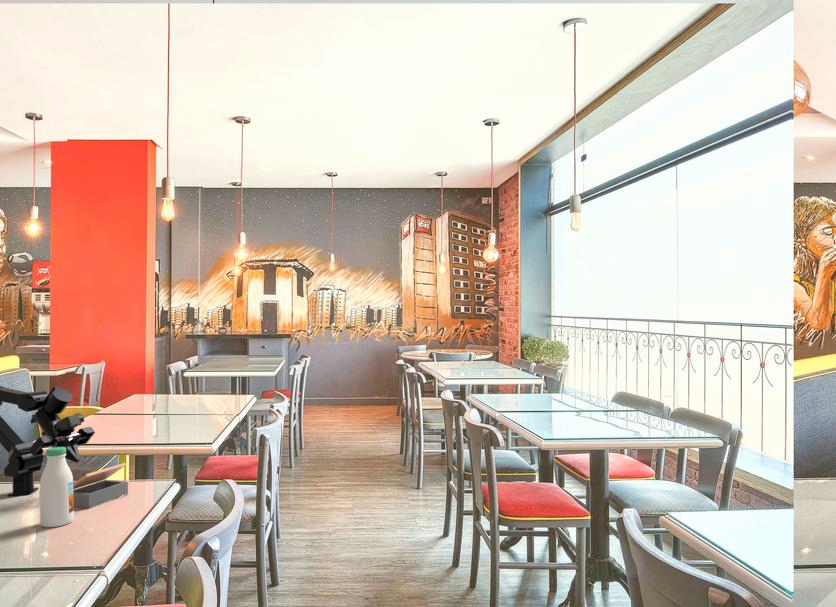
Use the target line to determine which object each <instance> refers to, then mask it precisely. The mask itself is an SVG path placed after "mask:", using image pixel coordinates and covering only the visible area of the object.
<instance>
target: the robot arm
mask: <svg viewBox="0 0 836 607" xmlns="http://www.w3.org/2000/svg"><path fill="white" fill-rule="evenodd" d="M72 400H73V394H72V392H70V391H69V390H67V389H64V388H61V387H60V385H59V386H52V388H51V390H50V392H49V393H48V392H47V391H45V390H41V391H40V390H39V391H22V390H19V389H13V388H8V387H5V386H2V385H0V407H1V406H2V405H3V403H7V404H12V405H15V406H17V408H18V409H19V410H22V411H24V412H25V413H26V412H27V413H28V412H34V411H36V412H35V413H34V414H33V413H32V415H31V419H30V424H36V423H37V424H38V425H39V428H41V430H42V432H41V435H42V436H41V437H37V438H36V440H34V441H32V440H31V441H27V442H25V441H23V439H21V437H20V436H19V435H18V434H17V432H15V431H14V430H13V428H12V427H11V426H10V425H9V424H8V423H7V422H6V420H4V418H3V416H1V415H0V445H1V446H2V447H3V448H4V450H6V451H7V453H8V456H7V457H8V458H7V461H8V463H7V465H6V466H5V467H4V468H3V473H4V476H5V477H10V478H12V480H11V481H12V491H11V492H9V493H8V494H7V496H8V497H11V496H12V497H13V496H22V495H23V496H25V495H31V494H33V493H34V492H36V491H38V490H39V487H38V486H37V487H35V484H34V483H35V482H34V481H35V478H34V475H35V473H34V472H39V471H41V469H42V465H43V461H44V449H49V448H54V447H65V448H66V456H65V459H67V460H69V461H72V462H74V463H79V462H80V460H81V458H80V454H79V448H78V447H79V446H85V445H86V444H88V443H89V441H90V440H91V438H92V437H93V436H95V435H94V434H95V433H96V432H95V429H93V427H91V426H87V427H82V428H79V429H78V431H76V433H75V434H72V433H74V432H75V430H76V429H75V428H77V427H78V426H81V425H82V423H84V422H85V417H84V415H83V414H82V413H81V412H76V413H74V414H73V415H68V416H64V417H63V418H61V416H60V415H59V414H61V413H63V412H64V411H65V409H66V408H67V407H68V405H69V404H70V403H71V401H72Z"/></svg>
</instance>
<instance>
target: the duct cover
mask: <svg viewBox="0 0 836 607" xmlns="http://www.w3.org/2000/svg"><path fill="white" fill-rule="evenodd" d="M125 466H127V464H126V462H124V463H123V462H122V463H120V464H116V465H112V466H110V467H106V468H103V469H102V468H101V469H99V470H96V471H93V472H89V473H85V474H84V475H83V476H82V477H81V478H78V479H77V480H76V481H75V482H73V490H75V489H78V488H81V487H85V486H88V485H91V484H94V483H97V482H100V481H104V480H108V478H110V477H111V476H113V475H114V474H116V473H117V472H118V471H119V470H122V469H123V468H124V467H125Z"/></svg>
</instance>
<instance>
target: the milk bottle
mask: <svg viewBox="0 0 836 607" xmlns="http://www.w3.org/2000/svg"><path fill="white" fill-rule="evenodd" d="M45 450H46V451H45V455H46V457H45V458H46V459H47V460H46V464H45V467H44V470H43V471H42V474H41V476H40V482H39V509H40V510H39V512H40V513H39V516H40V517H39V518H40V521H39V522H40V526H41V527H42V528H55V527H61V526H64V525H68V524H70V523H72V522H73V521H74V519H75V507H74V493H73V490H74V489H73V483H74V476H73V472H72V471H71V468H70V467H69V465H68V463H67V460H66V458H65V456H66V448H65V447H54V448H52V447H48V448H46V449H45Z"/></svg>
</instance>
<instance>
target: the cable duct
mask: <svg viewBox="0 0 836 607" xmlns="http://www.w3.org/2000/svg"><path fill="white" fill-rule="evenodd" d="M73 493H74V508H83V509H92V508H95V507H97V506H96V505H98V506H100V505H102V504H101V503H103V504H105V503H104V502H106V503H108V502H107V501H109V500H112V499H114V498H117V497H120V496H122V495H125V494H128V495H129V481H125V480H115V479H113V480H111V479H104V480H101V481H98V482H95V483H92V484H88V485H85V486H82V487H79V488H76V489H73ZM120 498H121V497H120ZM117 499H118V498H117ZM114 500H115V499H114ZM112 501H113V500H112ZM109 502H110V501H109ZM99 504H100V505H99ZM94 506H95V507H94Z"/></svg>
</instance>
